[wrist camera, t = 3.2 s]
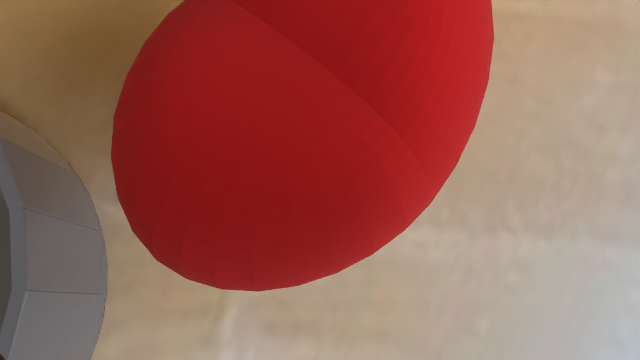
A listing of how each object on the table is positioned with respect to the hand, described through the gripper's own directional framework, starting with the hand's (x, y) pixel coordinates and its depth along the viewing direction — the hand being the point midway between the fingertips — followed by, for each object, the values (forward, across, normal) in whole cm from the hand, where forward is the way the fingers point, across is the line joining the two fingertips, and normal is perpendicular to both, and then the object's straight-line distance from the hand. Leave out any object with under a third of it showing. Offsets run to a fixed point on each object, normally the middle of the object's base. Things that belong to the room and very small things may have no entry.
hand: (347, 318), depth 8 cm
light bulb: (+11, 0, +5) cm, 12 cm away
